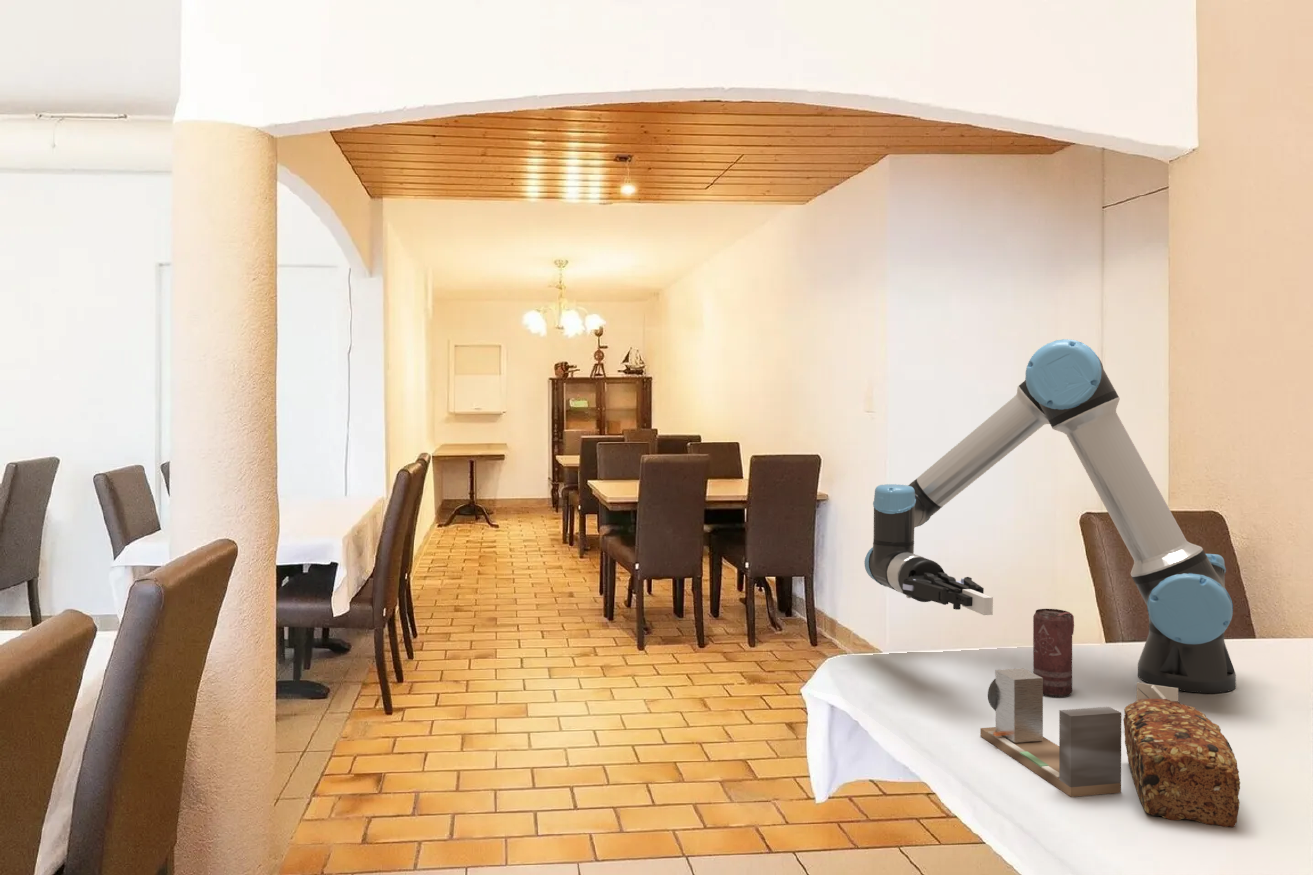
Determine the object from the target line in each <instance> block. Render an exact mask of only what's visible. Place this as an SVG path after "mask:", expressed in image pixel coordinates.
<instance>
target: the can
mask: <svg viewBox="0 0 1313 875" xmlns="http://www.w3.org/2000/svg"><path fill="white" fill-rule="evenodd" d="M1074 618H1075V617H1074V615H1073V613H1071V612H1070V611H1067V610H1063V609H1057V608H1040V609H1039V608H1038V609H1036V610H1035V613H1034V614H1033V620H1032V621H1033V623H1032V627H1033V629H1032V630H1033V632H1032V634H1033V638H1032V641H1033V642H1032V646H1033V647H1032V648H1033V651H1032V654H1033V655H1032V656H1033V663H1032V665H1033V669H1032V673H1034V674H1036V675H1038V676H1040V677H1042V678H1043V697H1049V698H1066V697H1069V696H1070V695H1071V694H1072V692H1073V635H1074V631H1075V630H1074V629H1075V619H1074Z"/></svg>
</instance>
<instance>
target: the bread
mask: <svg viewBox="0 0 1313 875" xmlns="http://www.w3.org/2000/svg"><path fill="white" fill-rule="evenodd" d="M1123 710H1124V715H1123V716H1124V717H1123V727H1124V728H1123V729H1124V745H1125V749H1126V755H1127V762H1128V766H1129V769H1130V770H1131V777H1132V780H1133V783H1134V787H1135V790H1136V793H1137V796H1138V797H1139V801H1140V803H1141V805H1142V806H1143V810H1144V811H1145V813H1146V814H1149V815H1151V816H1154V817H1157V816H1161V817H1162V818H1164V819H1167V820H1170V821H1179V820H1183V819H1185V820H1192V821H1195V822H1198V823H1200V824H1206V825H1207V826H1208V825H1209V826H1212V825H1217V826H1219V827H1220V826H1221V827H1226V828H1227V827H1231V828H1234V827H1235V826H1236V824H1237V822H1238V815H1239V809H1240V803H1241V801H1240V799H1239V795H1240V790H1241V781H1240V775H1239V773H1240V771H1239V769H1238V761H1237V759H1236V757H1235V753H1234V751H1233V748H1232V746H1231V745H1230V741H1228V739H1227V738H1226V737H1225V735H1224V734H1223V733H1222V732H1221V731H1222V730H1221V727H1220V726H1219V725H1218V724H1216V723H1214V722H1212V720H1210V719H1209V718H1208V717H1207V716H1206V714H1205V713H1203V712H1202V711H1199V710H1198V709H1197V708H1196V707H1194V706H1190V705H1186V704H1184V703H1183V704H1182V703H1181V702H1180V701H1179V700H1178V701H1170V700H1168V699H1139V700H1137V699H1136V701H1134V702H1133V703H1130V704H1128V705H1127V706H1125V707H1124V709H1123Z"/></svg>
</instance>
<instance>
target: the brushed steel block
mask: <svg viewBox="0 0 1313 875" xmlns="http://www.w3.org/2000/svg"><path fill="white" fill-rule="evenodd" d="M987 700H988V703H989V706H990V707H991V708H992V709H993V711H994V712H995V727H996V731H997V732H993V735H995V736H1005V737H1006V738H1008V739H1009V740H1011V741H1012V742H1014V743H1018V742H1032V741H1043V737H1044V733H1043V732H1044V729H1043V728H1044V716H1043V715H1044V710H1043V709H1044V695H1043V678H1042V677H1040V676H1038V675H1036V674H1034V673H1033V671H1032V672H1031V671H1029V670H1028V669H1025V668H1023V667H1022V668H1010V669H1008V668H1007V669H995V678H994V679H993V680H992V681H991V683H990V684H989V687H988V689H987Z"/></svg>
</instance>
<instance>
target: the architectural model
mask: <svg viewBox="0 0 1313 875" xmlns="http://www.w3.org/2000/svg"><path fill="white" fill-rule="evenodd" d="M1139 699H1168V700H1170V701H1179V690H1178V688H1173V687H1166V686H1159V685H1154V684H1151V683H1144V682H1136V701H1137V700H1139Z"/></svg>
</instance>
